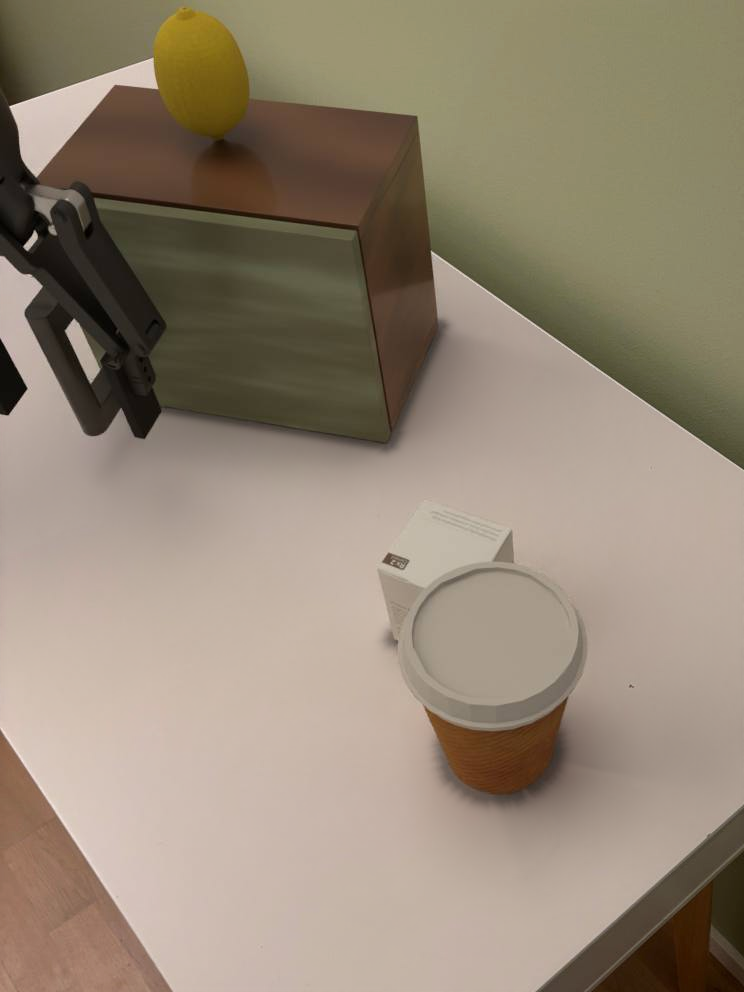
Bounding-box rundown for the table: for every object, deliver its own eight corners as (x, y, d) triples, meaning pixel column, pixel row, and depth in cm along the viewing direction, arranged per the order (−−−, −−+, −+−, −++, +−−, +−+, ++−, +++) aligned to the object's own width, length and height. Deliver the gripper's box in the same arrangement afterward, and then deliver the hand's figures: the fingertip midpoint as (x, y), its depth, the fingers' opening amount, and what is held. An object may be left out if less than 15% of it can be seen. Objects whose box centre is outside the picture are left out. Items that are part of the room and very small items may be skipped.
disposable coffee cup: (502, 853, 57) (495, 752, 47) (384, 749, 61) (354, 635, 51) (614, 740, 60) (629, 624, 50) (495, 649, 64) (487, 524, 54)
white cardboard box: (518, 600, 66) (516, 526, 60) (476, 674, 63) (469, 604, 57) (434, 570, 68) (424, 495, 62) (390, 640, 65) (374, 568, 59)
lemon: (248, 165, 65) (214, 33, 58) (164, 161, 66) (122, 30, 59) (271, 117, 68) (242, -14, 61) (191, 113, 69) (154, -16, 62)
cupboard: (392, 432, 75) (358, 225, 61) (120, 388, 79) (29, 184, 65) (438, 325, 82) (417, 115, 67) (184, 289, 86) (114, 84, 71)
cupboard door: (355, 514, 71) (311, 316, 57) (69, 463, 75) (-37, 266, 61) (391, 433, 75) (357, 230, 61) (118, 389, 79) (28, 188, 65)
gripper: (148, 60, 51) (252, 398, 70) (-227, 24, 55) (-35, 352, 74) (78, 145, 47) (208, 479, 66) (-321, 99, 51) (-93, 426, 70)
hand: (80, 412), depth 70 cm, fingers open, 9 cm apart
